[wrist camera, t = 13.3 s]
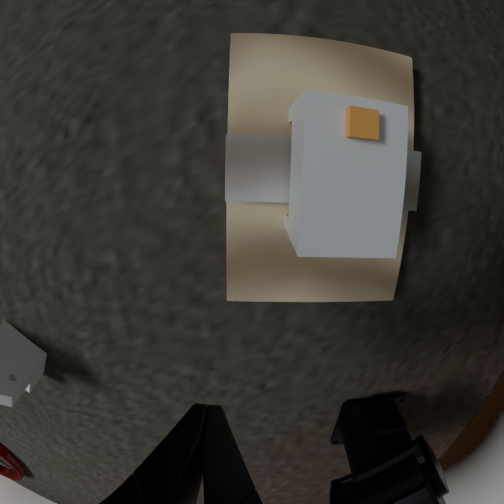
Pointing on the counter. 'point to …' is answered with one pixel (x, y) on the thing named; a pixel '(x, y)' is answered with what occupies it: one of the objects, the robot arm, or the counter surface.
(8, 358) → the white angled block
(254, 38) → the board
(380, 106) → the block
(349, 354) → the counter surface
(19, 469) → the headphones
